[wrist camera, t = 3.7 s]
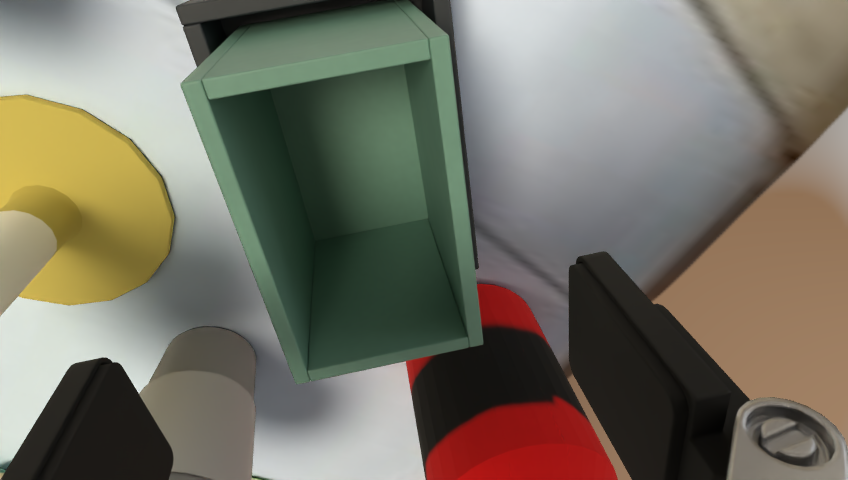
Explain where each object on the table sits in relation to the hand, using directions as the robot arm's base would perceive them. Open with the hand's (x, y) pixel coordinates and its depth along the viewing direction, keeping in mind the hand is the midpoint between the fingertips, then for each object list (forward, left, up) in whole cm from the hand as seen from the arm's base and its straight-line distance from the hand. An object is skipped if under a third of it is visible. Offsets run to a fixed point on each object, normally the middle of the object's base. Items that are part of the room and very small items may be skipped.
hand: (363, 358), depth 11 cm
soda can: (-4, +13, -14) cm, 20 cm away
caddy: (0, 0, -14) cm, 14 cm away
